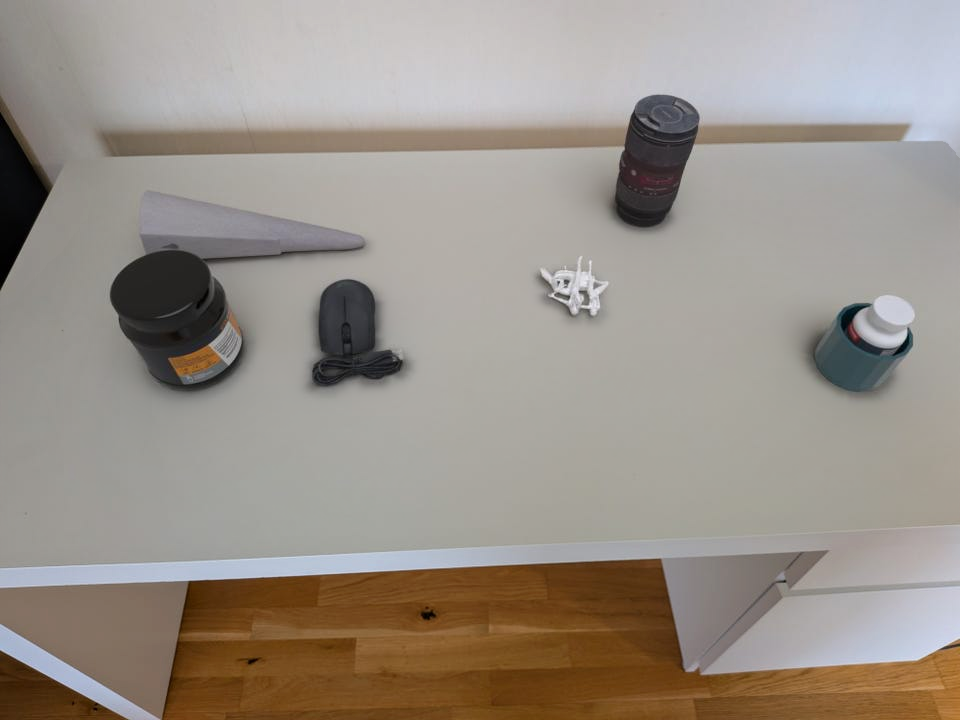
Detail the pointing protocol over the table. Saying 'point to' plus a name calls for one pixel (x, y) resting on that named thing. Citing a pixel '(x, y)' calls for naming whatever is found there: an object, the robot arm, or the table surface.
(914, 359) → the table surface
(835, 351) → the cup
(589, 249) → the table surface
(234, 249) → the tapered wedge
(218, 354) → the supplement container
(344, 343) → the computer mouse
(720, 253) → the table surface
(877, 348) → the pill bottle
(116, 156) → the table surface
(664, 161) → the camera lens
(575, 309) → the figurine
